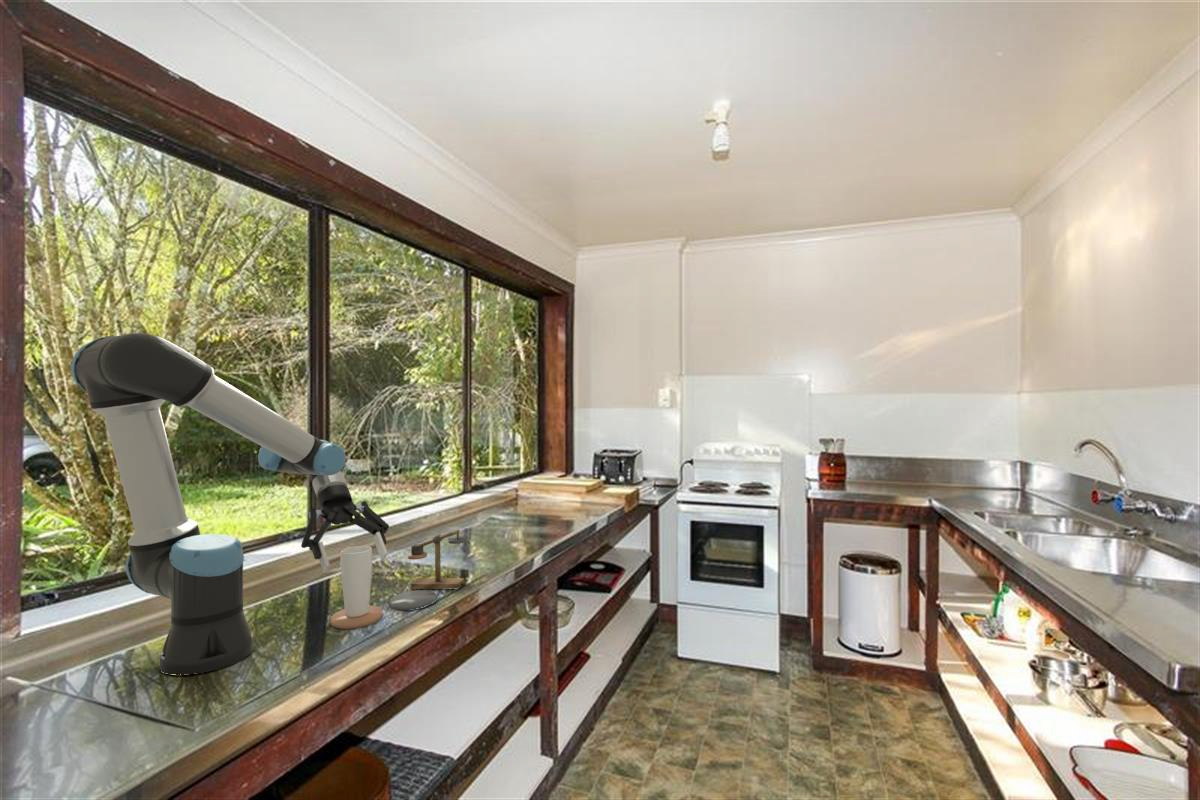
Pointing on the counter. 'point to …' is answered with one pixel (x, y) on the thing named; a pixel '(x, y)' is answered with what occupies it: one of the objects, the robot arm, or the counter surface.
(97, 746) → the counter surface
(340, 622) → the pink oval pebble
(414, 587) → the balance
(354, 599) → the drinking glass
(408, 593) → the charcoal dish
